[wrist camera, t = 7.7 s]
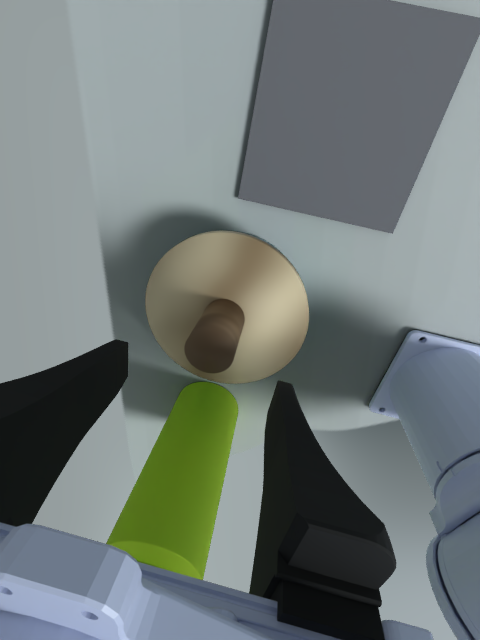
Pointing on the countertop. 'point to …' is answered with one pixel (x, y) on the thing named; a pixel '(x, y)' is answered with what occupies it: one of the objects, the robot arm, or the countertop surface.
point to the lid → (227, 307)
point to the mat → (351, 105)
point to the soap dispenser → (181, 484)
